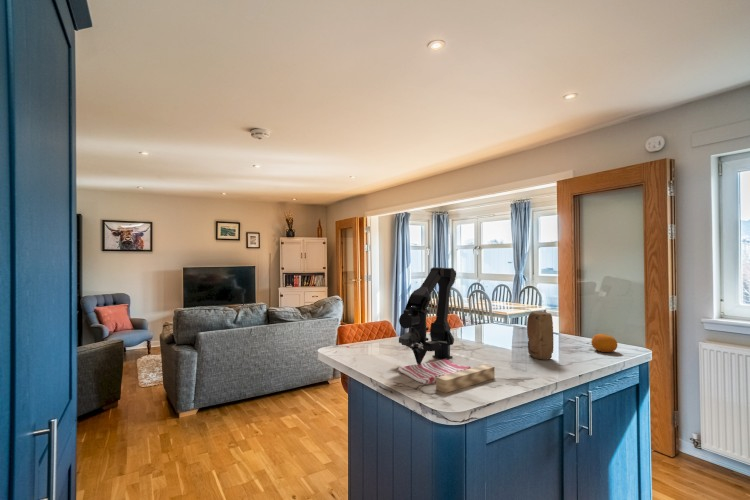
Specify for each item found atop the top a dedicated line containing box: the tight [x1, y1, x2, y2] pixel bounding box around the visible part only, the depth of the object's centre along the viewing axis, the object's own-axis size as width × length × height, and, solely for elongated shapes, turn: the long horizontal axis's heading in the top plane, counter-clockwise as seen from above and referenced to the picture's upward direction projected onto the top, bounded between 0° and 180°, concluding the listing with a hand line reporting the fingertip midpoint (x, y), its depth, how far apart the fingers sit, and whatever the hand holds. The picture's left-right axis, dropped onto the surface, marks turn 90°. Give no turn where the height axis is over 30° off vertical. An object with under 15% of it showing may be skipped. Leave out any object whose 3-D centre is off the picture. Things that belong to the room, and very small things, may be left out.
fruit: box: [591, 333, 618, 353], centre depth 177 cm, size 10×10×8 cm
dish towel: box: [397, 359, 471, 385], centre depth 142 cm, size 17×23×4 cm
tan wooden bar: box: [435, 364, 496, 394], centre depth 130 cm, size 26×4×4 cm, turn 127°
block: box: [526, 310, 554, 361], centre depth 166 cm, size 11×8×20 cm
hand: (418, 364), depth 149 cm, fingers closed
